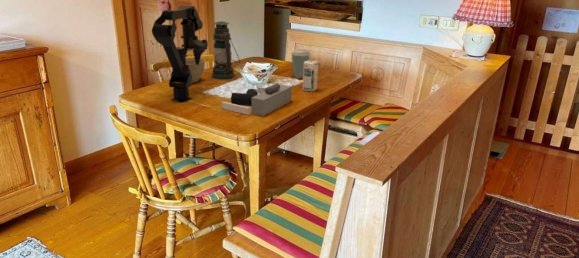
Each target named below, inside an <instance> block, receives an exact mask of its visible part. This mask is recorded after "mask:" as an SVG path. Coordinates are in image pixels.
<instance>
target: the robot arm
mask: <svg viewBox="0 0 579 258" xmlns="http://www.w3.org/2000/svg"><path fill="white" fill-rule="evenodd" d="M200 18H201V17H200V16H199V13H198V10H197V8H196V7H195V5H183V4H181V5H180V6H178V7H177V8H175V9H169V10H166V9H165V10H162V12H161V15H160V16H159V17H158V18H156V19H155V20H154V22H153V25H152V28H151V33H152V36H153V38H154V39H155V41H156V42H157V43H158V44H159V45H160V46H162V48H163V49H164V52H165V54H166V57H167V59H168V61H169V64H170V66H171V68H172V71H171V74H170V78H169V79H170V80H169V83H168V86H169V88H172V90H173V98H171V100H172V101H175V102H178V103H184V102H187V101H189V100H191V99H192V97H190V94H189V88H191V86H192V83H191V81H192V74H191V72H190V69H189V66H188V65H186V59H185V58H188V54H187V53H188V52H190V51H192V53H193V57H194V58H195V62H196V65H199V61H200V58H201V57H202V54H203V53H204V52H206V50H208V45H209V44H208V43H209V42H208V40H207V39H205V38H204V39H202V40H200V39H199V37H198V35H196V32H198V31H200V30H201V29H202V28H203V25H204V24H203V21H202V20H201V19H200ZM180 19H182V20H181V22H180V25H181V27H182V28H181V29H182V35H180V38H181V39H182V43H183V44H181V46H176V44H175V38H176V31H177V28H178V27H177V24H176V21H177V20H180ZM166 21H172V23H171V24H164V23H165V22H166ZM201 59H202V58H201Z"/></svg>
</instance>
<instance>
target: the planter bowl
mask: <svg viewBox="0 0 579 258" xmlns="http://www.w3.org/2000/svg"><path fill="white" fill-rule="evenodd" d="M185 59H186V65H188V66H189V69H190V72H191V74H192V81H191V84H192V83H197V82H199V81H200V79H201V77H202V75H203V72H204V70H205V62H206V61H205V59H204V58H200V61H199V65H196V62H195V58H194V56H193V57H190V56H189V57H186V58H185Z"/></svg>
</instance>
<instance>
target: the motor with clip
mask: <svg viewBox="0 0 579 258" xmlns="http://www.w3.org/2000/svg"><path fill="white" fill-rule="evenodd" d="M256 89H257V93H258V95H256V96H254V97H252V105H251V109H250V106H246V105H241V104H232V103H231V102H227V101H221V109H222V110H226V111H231V112H235V113H240V114H244V115H247V116H249V115H250V113H251V114H254V115H259V116H263V117H264V116H266V115H268V114H270V113H271V112H275V110H277V109H279V108H281V107H283V106H285V105H286V104H288V103H290V102H292V93H293V92H292V91H293V88H292V86H291V85H286V84H279V83H277V82H276V83H273V84H271V85H269V86H267V87H265V86H264V87H262V86H257V88H256ZM250 111H251V112H250Z"/></svg>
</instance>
